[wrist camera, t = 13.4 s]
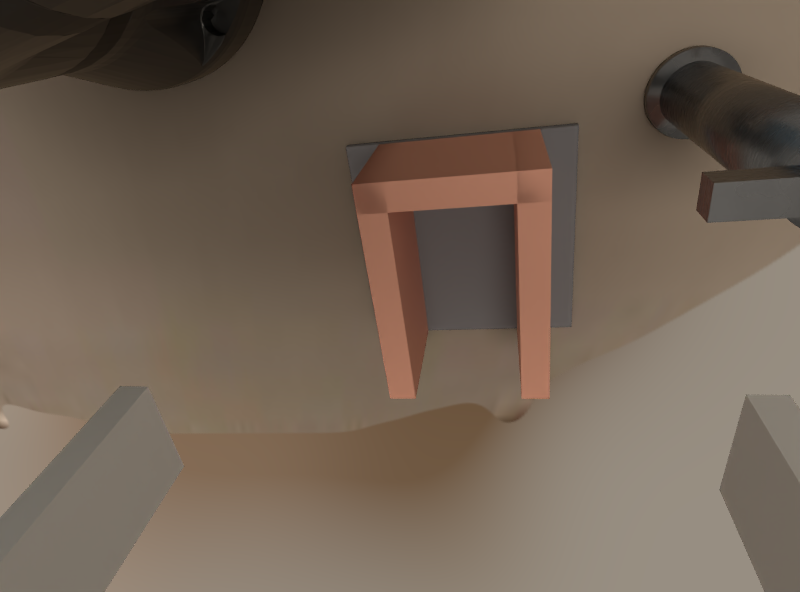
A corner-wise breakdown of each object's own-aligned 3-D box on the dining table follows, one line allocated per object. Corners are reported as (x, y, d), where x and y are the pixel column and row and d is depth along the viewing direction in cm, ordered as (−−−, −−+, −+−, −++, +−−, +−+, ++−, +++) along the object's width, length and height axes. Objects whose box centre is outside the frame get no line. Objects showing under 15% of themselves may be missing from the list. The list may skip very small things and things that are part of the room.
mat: (380, 327, 38) (379, 331, 37) (347, 145, 31) (345, 147, 31) (570, 322, 35) (571, 326, 35) (577, 123, 29) (578, 125, 28)
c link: (407, 330, 37) (390, 398, 31) (379, 144, 30) (351, 184, 25) (540, 327, 35) (549, 398, 29) (540, 129, 29) (552, 168, 23)
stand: (609, 142, 29) (699, 271, 16) (614, 55, 27) (724, 125, 14) (763, 129, 28) (995, 258, 15) (783, 35, 25) (1073, 94, 13)
